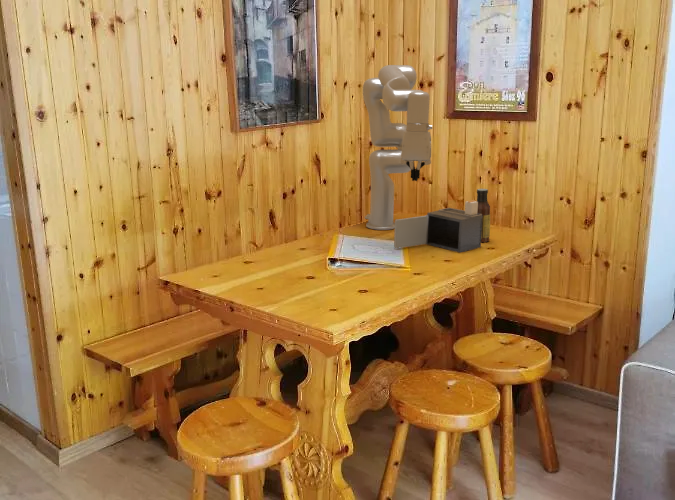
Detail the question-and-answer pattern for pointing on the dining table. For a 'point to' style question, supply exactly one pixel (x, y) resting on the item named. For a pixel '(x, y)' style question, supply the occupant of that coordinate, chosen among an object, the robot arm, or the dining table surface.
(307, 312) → the dining table surface
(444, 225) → the dark grey box
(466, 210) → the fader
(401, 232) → the door
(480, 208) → the sauce bottle
